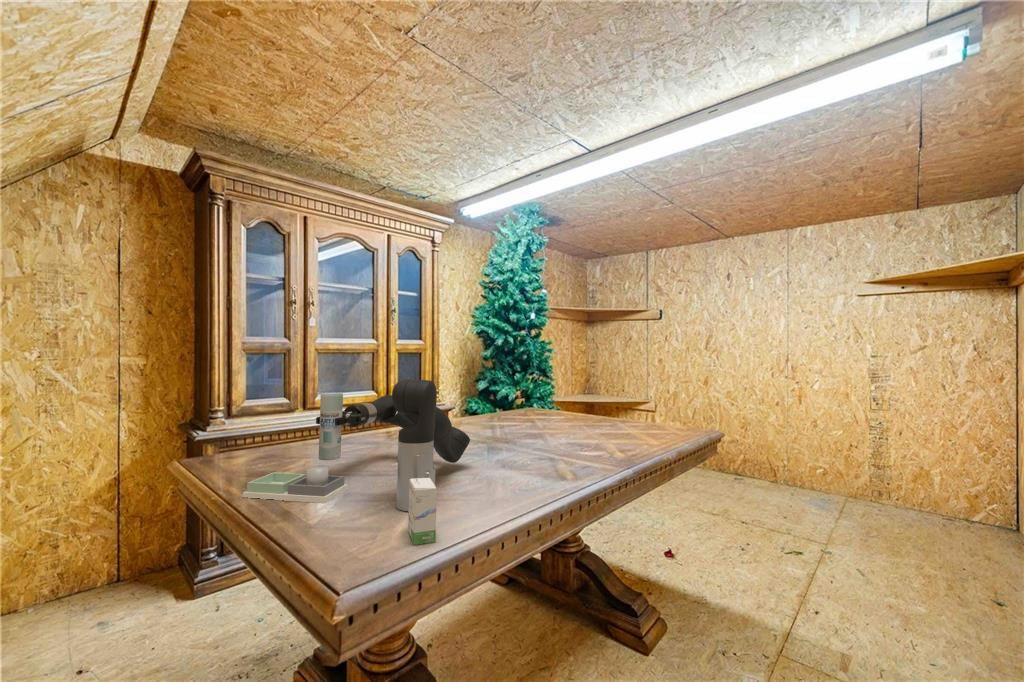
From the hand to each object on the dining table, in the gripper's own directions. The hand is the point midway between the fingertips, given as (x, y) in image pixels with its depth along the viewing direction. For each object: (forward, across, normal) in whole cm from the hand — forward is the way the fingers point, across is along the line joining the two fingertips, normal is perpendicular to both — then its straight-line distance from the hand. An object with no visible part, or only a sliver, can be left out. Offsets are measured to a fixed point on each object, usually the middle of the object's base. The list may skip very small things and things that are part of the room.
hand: (326, 421), depth 132 cm
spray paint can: (-2, 0, -12) cm, 12 cm away
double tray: (+10, +1, -19) cm, 22 cm away
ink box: (+24, -46, -19) cm, 56 cm away
